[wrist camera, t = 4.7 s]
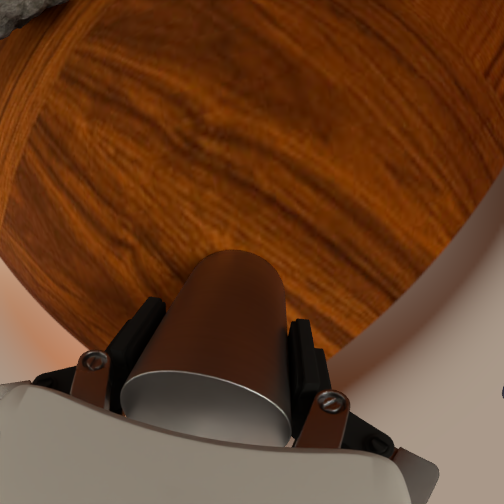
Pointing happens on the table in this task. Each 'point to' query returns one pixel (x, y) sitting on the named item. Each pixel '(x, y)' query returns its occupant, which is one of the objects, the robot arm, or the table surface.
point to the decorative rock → (21, 13)
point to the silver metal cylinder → (219, 357)
